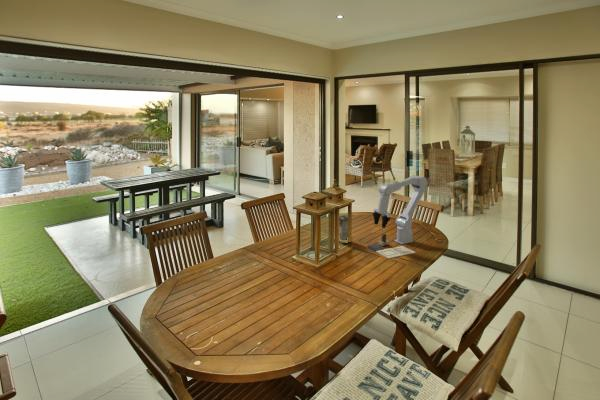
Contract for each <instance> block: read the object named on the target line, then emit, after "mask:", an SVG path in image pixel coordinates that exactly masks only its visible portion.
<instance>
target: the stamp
mask: <svg viewBox="0 0 600 400" xmlns="http://www.w3.org/2000/svg"><path fill="white" fill-rule="evenodd" d="M377 245H379V246H381V247H383V248H384V247H389V246H390V241H388V240H387V234H386V233H382V234H381V240H378V244H377Z"/></svg>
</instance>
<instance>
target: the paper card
mask: <svg viewBox="0 0 600 400" xmlns="http://www.w3.org/2000/svg"><path fill="white" fill-rule="evenodd" d="M375 253H377V254H379V255H382V256H383V257H385V258H387V259H392V258H397V257H402V256H408V255H412V254H416V253H417V252H415V251H414V250H412V249H410V248H407V247H406V246H404V245H400V246H396V247H390V248H389V247H388V248H386V249H384V248H383V249H381V250H376V251H375Z"/></svg>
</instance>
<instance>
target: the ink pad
mask: <svg viewBox="0 0 600 400" xmlns="http://www.w3.org/2000/svg"><path fill="white" fill-rule="evenodd" d="M366 247H367V248H368V249H369V250H371V251H372V252H376V251H379V250H384V247H382V246H380V245H378V244H377V243H375V244H368V245H366Z"/></svg>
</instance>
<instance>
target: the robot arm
mask: <svg viewBox="0 0 600 400" xmlns="http://www.w3.org/2000/svg"><path fill="white" fill-rule="evenodd" d="M409 185H411V187H412V188H413V190H414V192H413V194H412V196H411V198H410V199H409V202H408V204H407V206H406V207H405V209H404V210H403V212H402V213H400V214H399V215H398V216H397V217H396V219H395V220H394V221H395V222H394V224H395V226H396V228H397V231H396V239H394V240H393V241H394V242H396V243H398V244H400V245H403V244H409V243H413V242H414V240H413V229H412V226H413V222H414V218H413V215H414V213H415V210H416V209H417V206H418V205H419V203H420V201H421V200H422V197H423V195H424V193H425V189H426V188H427V185H428V180H427V178H426V177H425V176H419V175H415V174H413V175H409V177H407V178H405V179H403V180H400V181H398V180H393V182H391V183H387V184H382V185H381V186H380V188H379V189H378V190H379V191H378V192H379V201H378V205H377V208H374V209H373V212H372V215H373V221H374V223H373V224H374V225H378V224H379V222H380V219H381V221H382V222H381V228H382V229H386V227H387V224H388V223H389V221H390V220H391V219H392V218H391V217H392V214H391V213H389V212H388V209H389V203H390V198H391V197H390V196H392V195H393V193H395V192H397V191H399V190H401V189H402V188H403V187H406V186H409Z"/></svg>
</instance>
